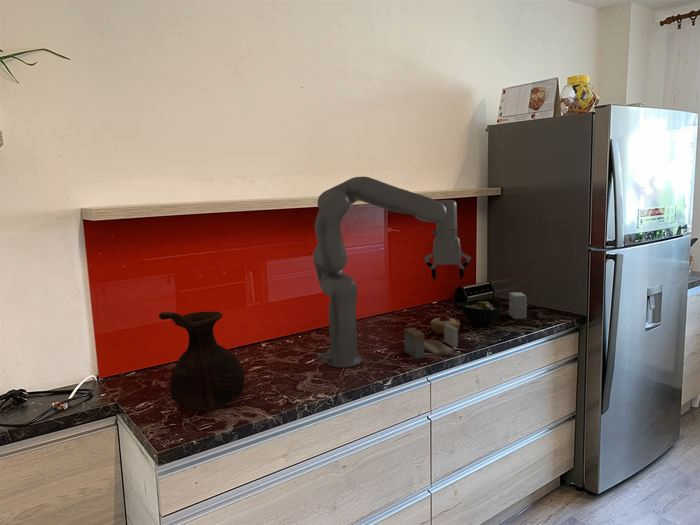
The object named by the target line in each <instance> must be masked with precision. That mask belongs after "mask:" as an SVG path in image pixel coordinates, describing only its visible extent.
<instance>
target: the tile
mask: <svg viewBox="0 0 700 525" xmlns="http://www.w3.org/2000/svg"><path fill="white" fill-rule="evenodd" d="M443 336H444V337H443V338H444V339H443V343H446V344H447V345H449V346H451V347H454V348H455V347H458V346H459V331H458V328H456V327H453V326H451V325H449V324H445V325H444V335H443Z"/></svg>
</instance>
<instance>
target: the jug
mask: <svg viewBox="0 0 700 525" xmlns="http://www.w3.org/2000/svg"><path fill="white" fill-rule="evenodd" d="M158 318H159V319H160V320H163V321H164V320H172V321H173V322H174V325H176V326H177V327H180V328H183V329H185V330H186V332H187V334H188V345H187V348H186V350H185V351H184V352H183V353H182V354H181V355H180V357H179V358H178V359H177V362H176V364H175V366H174V368H173V369H172V370H171V371H170V372H171V376H170V381H169V393H170V396H171V398H172V400H173V401H174V403H176V404H178V405H179V406H182V407H184V408H188V409H190V410H191V409H192V410H195V411H199V412H210V411H217V410H219V409H221V408H224V407H225V406H227V405H228V404H231V403H232V402H233V401H235V400H236V399H237V398H239V397H240V395H242V393H243V391H244V388H245V383H246V382H245V373H244V369H243V366H242V364H241V361H240V360H239V358H237V356H236V355H234V354H233V353H232V352H231V351H229V350H228V349H227V348H226V347H224V346H222V345H221V344H218V343H217V341H216V337H215V335H214V326H215V325H216V323H217V322H218V321H220V320H221V319H222V318H223V313H222V312H219V311H197V312H191V313H186V314H182V315H181V314H180V313H176V312H172V311H171V312H170V311H168V312H167V311H164V312H163V311H162V312H160V313H158Z"/></svg>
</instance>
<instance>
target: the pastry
mask: <svg viewBox="0 0 700 525" xmlns="http://www.w3.org/2000/svg"><path fill="white" fill-rule="evenodd" d="M447 313H450V311H449V310H446V311H445V313H443V314H440V315H439V317H436V318H433V319H432V320H430V328H431V330H432V332H433V333H434V334H435V335H438V336H444V325H445V324H449V325H451V326H453V327H456V328H458V332H459V331H460V327H461V322H460V320H458V319H457V318H452V317H450V316H449V315H447Z"/></svg>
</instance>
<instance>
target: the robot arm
mask: <svg viewBox="0 0 700 525" xmlns="http://www.w3.org/2000/svg"><path fill="white" fill-rule="evenodd" d="M357 202H364V203H366V204H369V205H372V206H375V207H378V208H381V209H384V210H387V211H389V212H394V213H399V214H406V215H411V216H414V217H415V218H416V219H417V220H418V221H420V222H426V223H433V224H434V223H435V224H436V229H435V230H432V235H435V236H436V237H434V239H433V246H432V247H433V248H432V252H431V253H430V254H427V255H426V256H425V257H424V258H423V260H424V262H425V263H426V266H428V267H429V268H430V269H431V278H433V281H435V280H436V279H437V268H436V267H437V266H458V267H459V280H460V281H462V280H463V278H465V270H464V269H465V268H467V266H468V265H469V264H470V261H471V259H472V256H470V255H468V254H466V253H464V252H463V251H462V248H461V247H462V246H461V240H460V237H459V236H458V210H457V209H458V205H457V202H456V200H453V199H442V200H437V199H434V198H431V197H429V196H426V195H422V194H419V193H415V192H411V191H409V190H407V189H404V188H400V187H397V186H394V185H392V184H389V183H385V182H383V181H380V180H378V179H376V178H373V177H369V176H354V177H352V178H350V179H347V180H345V181H343V182H342V183H340V184H337V185H334V186H333V187H330V188H329V189H327V190H325V191H323V192H322V193H320V195H319V196H318V199H317V207H318V209H319V210H318V212H317V215H316V217H315V221H314V230H315V237H316V242H317V245H316V246H315V248H314V250H313V254H312V256H313V264H314V268H315V272H316V276H317V279H318V282H319V283H318V284H319V286H320V289H321V291H322V292H323V293H324V294H325V295H327V296H328V297H329V304H328V321H329V322H328V324H329V327H328V328H329V348H328V349H327V351H325V353H317V354H316V357H317V360H323V361H326V364H327V366H331V367H332V368H338V369H339V368H342V369H343V368H352V367H356V366H359V365H360V364H362V362H363V357H362V356H361V355H359V354H358V344H357V343H358V339H357V338H358V334H357V300H358V299H357V297H358V287H357V283H356V281H355V280H354V279H353V277H352V276H350V275H349V274H347V273H344V271H343V269H344V268H345V267H346V266H347V263H348V255H347V252H346V249H345V244H344V240H343V236H342V231H341V223H342V220H343V217H344V216H345V215H346V213H348V211H349V210H350V208H351V205H353V204H355V203H357ZM431 258H432V261H433V263H432V262H430V259H431ZM462 258H464V259H466V260H465V262H463V263H462Z"/></svg>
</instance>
